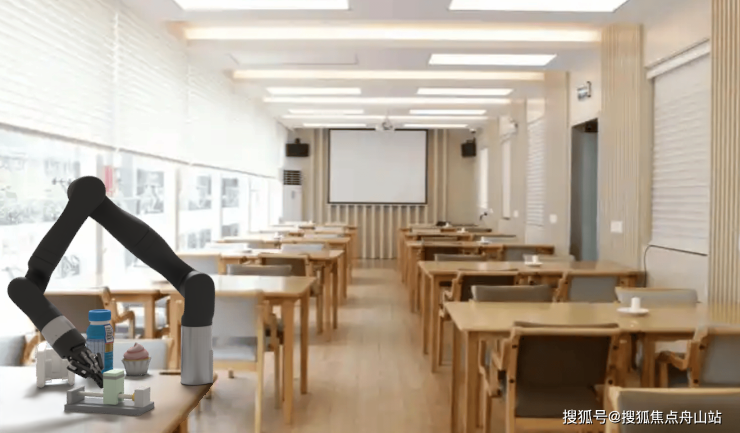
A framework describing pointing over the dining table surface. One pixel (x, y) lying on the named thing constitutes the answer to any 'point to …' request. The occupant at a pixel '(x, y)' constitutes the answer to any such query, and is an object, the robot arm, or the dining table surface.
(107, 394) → the notched mint block
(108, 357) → the beverage bottle
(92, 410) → the grey slide rail
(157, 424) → the dining table surface
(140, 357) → the cupcake
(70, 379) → the white plastic stand
